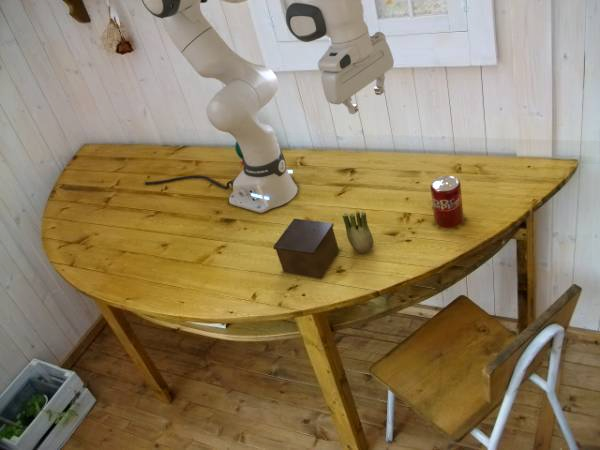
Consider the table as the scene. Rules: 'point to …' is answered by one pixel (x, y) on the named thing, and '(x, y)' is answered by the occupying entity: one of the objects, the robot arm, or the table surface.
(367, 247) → the fennel bulb
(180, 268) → the table surface
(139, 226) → the table surface
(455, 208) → the soda can
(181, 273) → the table surface
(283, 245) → the stand
